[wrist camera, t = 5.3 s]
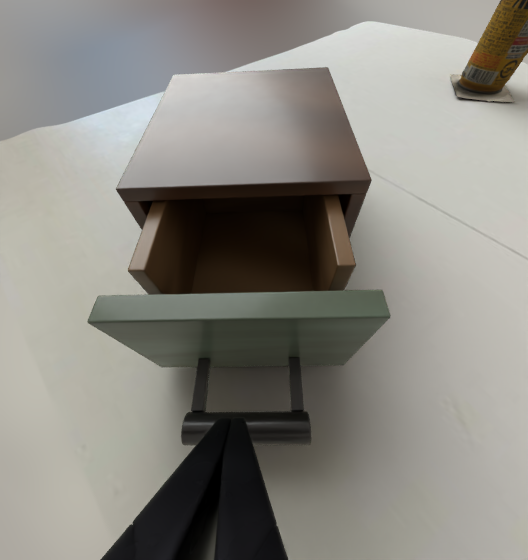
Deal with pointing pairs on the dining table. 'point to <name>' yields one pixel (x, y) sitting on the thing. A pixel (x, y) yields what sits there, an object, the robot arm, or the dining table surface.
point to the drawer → (244, 298)
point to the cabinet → (247, 142)
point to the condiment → (496, 54)
